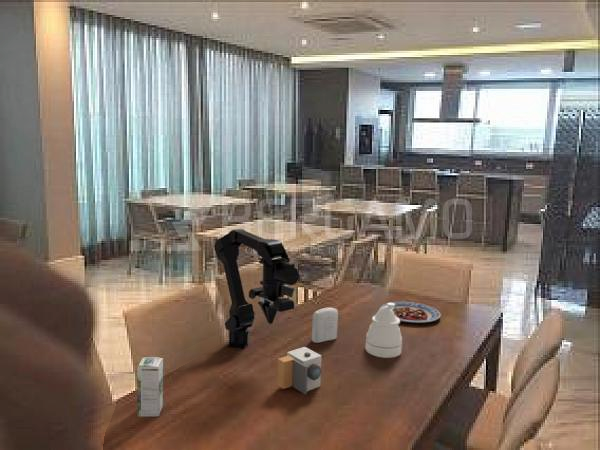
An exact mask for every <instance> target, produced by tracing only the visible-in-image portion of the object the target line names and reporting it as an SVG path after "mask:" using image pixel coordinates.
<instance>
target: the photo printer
mask: <svg viewBox="0 0 600 450" xmlns="http://www.w3.org/2000/svg"><path fill="white" fill-rule="evenodd" d="M338 323H339V311H338V309H337V308H333V307H324V308H320V309H318V310H316V311H314V312H313V314H312V324H311V325H312V326H311V341H312V342H313V343H315V344H316V343H323V342H328V341H333V340H336V339H337V338H338Z"/></svg>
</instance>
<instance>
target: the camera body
mask: <svg viewBox="0 0 600 450" xmlns="http://www.w3.org/2000/svg"><path fill="white" fill-rule="evenodd" d="M288 355H289V356H291V357H292V358H294V359H296V360H298V361H299V362H301V363H303V364H305V365H306V366H308V371H307V392H309V391H311V390H314V389H317V388H319V387H321V381H322V380H321V378H322V377H321V376H322V355H321V354H319V353H317V352H316V351H313V350H312V349H310V348H308V347H306V346H303V347H300V348H296V349H293V350H290V351H287V352H286V356H288Z"/></svg>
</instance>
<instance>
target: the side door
mask: <svg viewBox="0 0 600 450" xmlns="http://www.w3.org/2000/svg"><path fill="white" fill-rule="evenodd" d="M307 371H308V366H306V365H305V364H303V363H301V362H299V361H298V360H296V359H294V358H292V357H291V356H289V355H288V356H287V355H285V356H283V357H278V358H277V386H278V387H279V388H281V389H283V390H285V389H287V388H291V387H292V388H294V389H296V390H297V391H298V392H300V393H302V394H304V395H307V394H308V393H307V392H308V391H307Z"/></svg>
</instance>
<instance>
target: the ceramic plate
mask: <svg viewBox="0 0 600 450" xmlns="http://www.w3.org/2000/svg"><path fill="white" fill-rule="evenodd" d="M390 303H394V304H395V306H394V308H393V309H392V311H393V313H394V315H395V317H397V318H399V319H400V322H405V323H417V324H419V323H430V322H434V321H437V320H439V319H440V317H441V312H440V311H439V310H438V309H436V308H434V307H432V306H429V305H427V304H424V303H418V302H411V301H392V302H390ZM383 306H388V305H387V303H384V304H382V305H381V306H380V308H382V307H383ZM380 308H379V309H380Z"/></svg>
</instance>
